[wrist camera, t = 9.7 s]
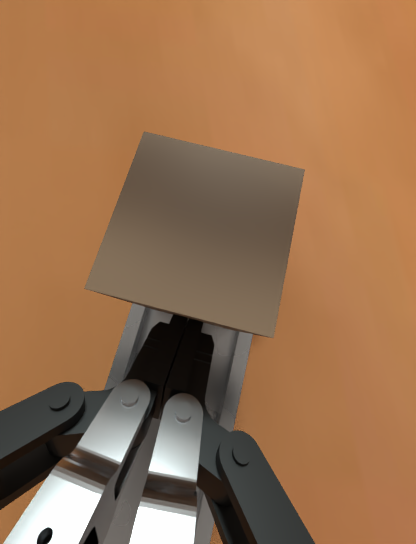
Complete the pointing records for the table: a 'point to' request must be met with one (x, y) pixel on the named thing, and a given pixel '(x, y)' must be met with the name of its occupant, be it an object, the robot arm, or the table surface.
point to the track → (218, 401)
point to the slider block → (201, 235)
